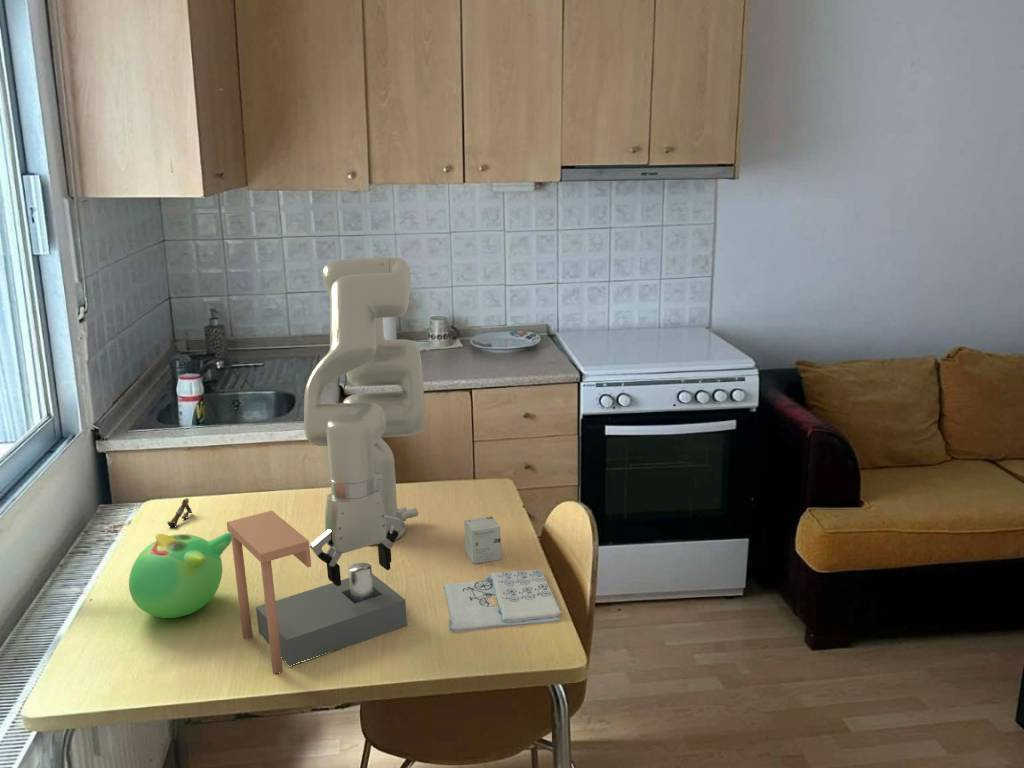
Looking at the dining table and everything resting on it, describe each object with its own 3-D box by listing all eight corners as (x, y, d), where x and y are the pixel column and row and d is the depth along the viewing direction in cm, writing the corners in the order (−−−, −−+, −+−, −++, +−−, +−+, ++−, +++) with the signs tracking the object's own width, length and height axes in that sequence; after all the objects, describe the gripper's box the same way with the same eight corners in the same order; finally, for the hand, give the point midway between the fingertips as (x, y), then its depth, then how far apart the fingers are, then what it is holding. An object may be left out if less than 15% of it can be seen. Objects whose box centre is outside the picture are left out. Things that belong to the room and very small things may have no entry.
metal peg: (368, 610, 174) (365, 560, 171) (379, 619, 170) (375, 568, 168) (349, 617, 171) (344, 566, 169) (358, 626, 168) (354, 574, 166)
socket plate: (371, 595, 179) (369, 571, 178) (407, 625, 168) (405, 599, 167) (258, 632, 167) (255, 606, 166) (289, 667, 156) (286, 640, 155)
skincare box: (473, 564, 190) (471, 530, 188) (465, 552, 196) (463, 519, 194) (502, 559, 192) (500, 526, 190) (493, 547, 198) (491, 515, 196)
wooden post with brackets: (196, 509, 221) (190, 496, 218) (180, 535, 215) (174, 522, 212) (189, 509, 221) (183, 495, 218) (173, 535, 215) (166, 521, 212)
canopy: (283, 621, 171) (271, 510, 165) (320, 659, 158) (308, 540, 152) (240, 635, 166) (226, 522, 161) (274, 676, 154) (260, 554, 148)
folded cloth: (562, 624, 168) (562, 613, 167) (448, 636, 165) (448, 625, 165) (543, 575, 186) (543, 565, 185) (440, 585, 183) (439, 575, 183)
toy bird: (158, 587, 185) (148, 517, 181) (243, 585, 185) (235, 515, 181) (118, 634, 168) (106, 558, 164) (212, 633, 167) (203, 557, 163)
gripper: (387, 468, 172) (393, 553, 177) (297, 491, 162) (306, 581, 167) (407, 480, 166) (413, 568, 171) (315, 505, 157) (324, 598, 161)
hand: (360, 574), depth 169 cm, fingers open, 9 cm apart
